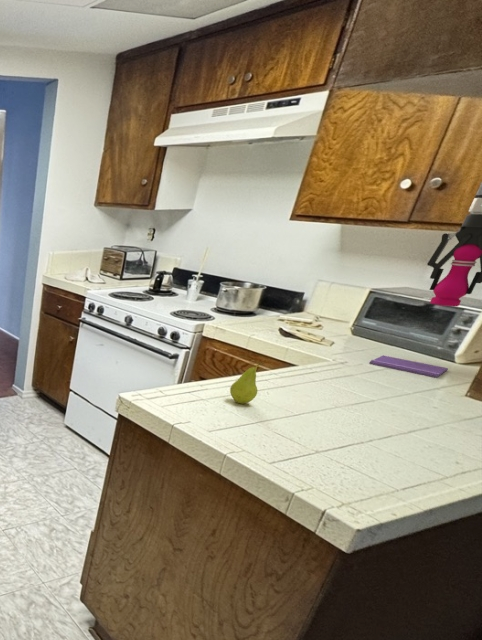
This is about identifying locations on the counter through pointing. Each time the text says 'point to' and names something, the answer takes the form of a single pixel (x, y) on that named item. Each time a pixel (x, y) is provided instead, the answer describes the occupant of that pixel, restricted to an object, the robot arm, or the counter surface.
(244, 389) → the fruit
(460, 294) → the pepper mill
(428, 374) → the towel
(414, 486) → the counter surface
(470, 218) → the robot arm
